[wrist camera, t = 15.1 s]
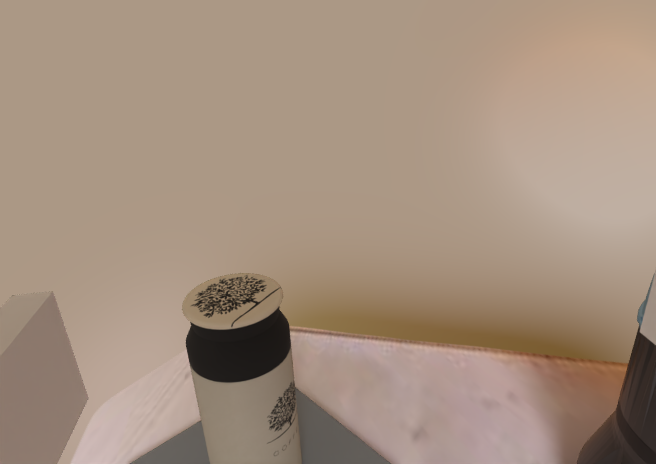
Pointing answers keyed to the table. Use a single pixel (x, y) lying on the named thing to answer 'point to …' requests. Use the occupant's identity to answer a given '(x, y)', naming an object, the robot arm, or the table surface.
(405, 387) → the table surface
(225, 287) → the travel mug
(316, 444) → the mat
